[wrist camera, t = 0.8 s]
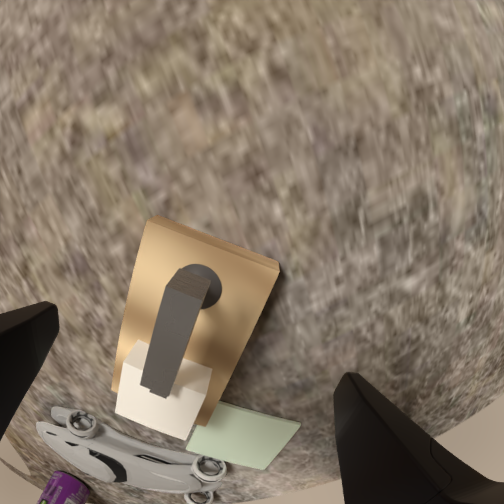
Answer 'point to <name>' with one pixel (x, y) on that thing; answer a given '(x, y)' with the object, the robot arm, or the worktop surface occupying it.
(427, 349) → the worktop surface
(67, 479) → the beverage can
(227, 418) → the pad
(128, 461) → the car model
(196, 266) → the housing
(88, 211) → the worktop surface
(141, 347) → the cover
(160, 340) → the lever handle
